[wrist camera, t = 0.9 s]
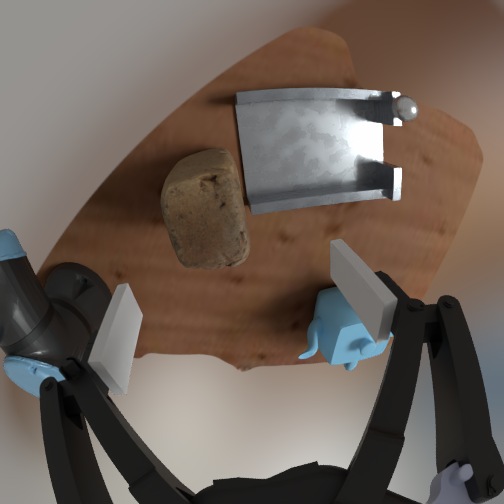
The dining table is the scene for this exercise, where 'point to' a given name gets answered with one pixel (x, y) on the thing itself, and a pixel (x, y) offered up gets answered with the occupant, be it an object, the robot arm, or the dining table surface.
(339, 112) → the dock
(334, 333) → the teapot
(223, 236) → the brown blocky piece
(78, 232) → the dining table surface
